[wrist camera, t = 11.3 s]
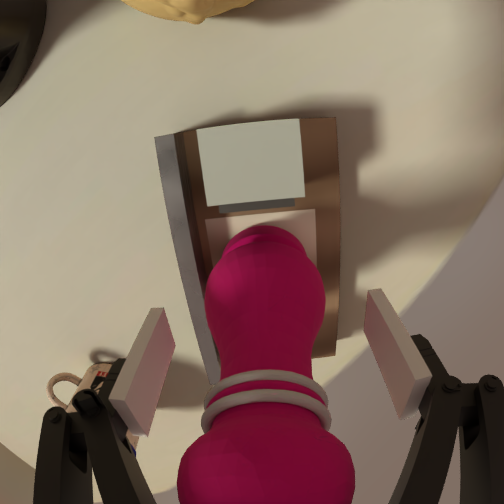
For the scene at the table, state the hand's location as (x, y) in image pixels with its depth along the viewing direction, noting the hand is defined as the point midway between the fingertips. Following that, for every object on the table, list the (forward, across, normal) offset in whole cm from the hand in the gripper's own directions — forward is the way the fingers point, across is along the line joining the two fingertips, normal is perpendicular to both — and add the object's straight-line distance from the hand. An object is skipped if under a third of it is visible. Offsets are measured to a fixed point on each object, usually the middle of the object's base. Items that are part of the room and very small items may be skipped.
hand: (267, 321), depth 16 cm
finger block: (+7, 0, +8) cm, 10 cm away
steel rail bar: (+7, -5, 0) cm, 9 cm away
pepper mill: (+7, 0, 0) cm, 7 cm away
